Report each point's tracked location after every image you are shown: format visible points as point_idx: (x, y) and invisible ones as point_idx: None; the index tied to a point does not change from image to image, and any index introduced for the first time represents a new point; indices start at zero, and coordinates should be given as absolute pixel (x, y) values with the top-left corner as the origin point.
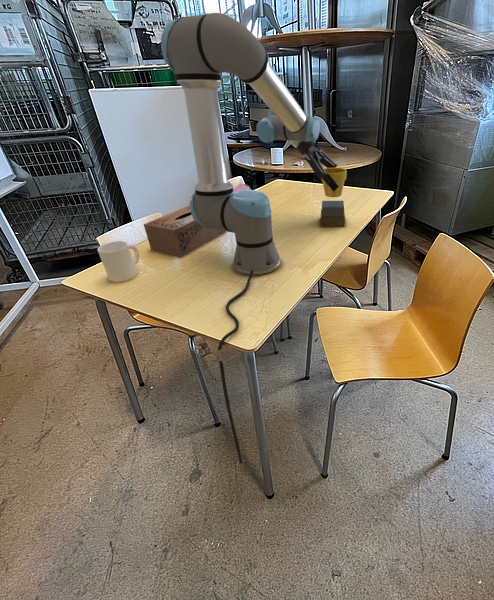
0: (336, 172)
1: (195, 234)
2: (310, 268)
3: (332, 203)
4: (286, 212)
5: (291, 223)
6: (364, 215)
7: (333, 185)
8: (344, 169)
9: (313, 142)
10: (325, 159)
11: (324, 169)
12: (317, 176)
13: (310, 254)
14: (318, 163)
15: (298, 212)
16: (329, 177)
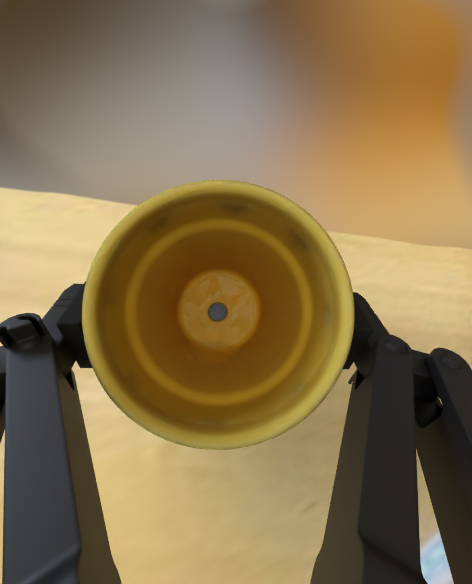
0: (116, 308)
1: None
2: None
3: (212, 315)
4: (152, 528)
5: (264, 451)
6: (116, 220)
7: None
8: (152, 210)
9: None
10: (78, 503)
11: (172, 425)
12: (433, 402)
13: (457, 305)
14: (409, 503)
15: (140, 477)
16: (355, 307)
